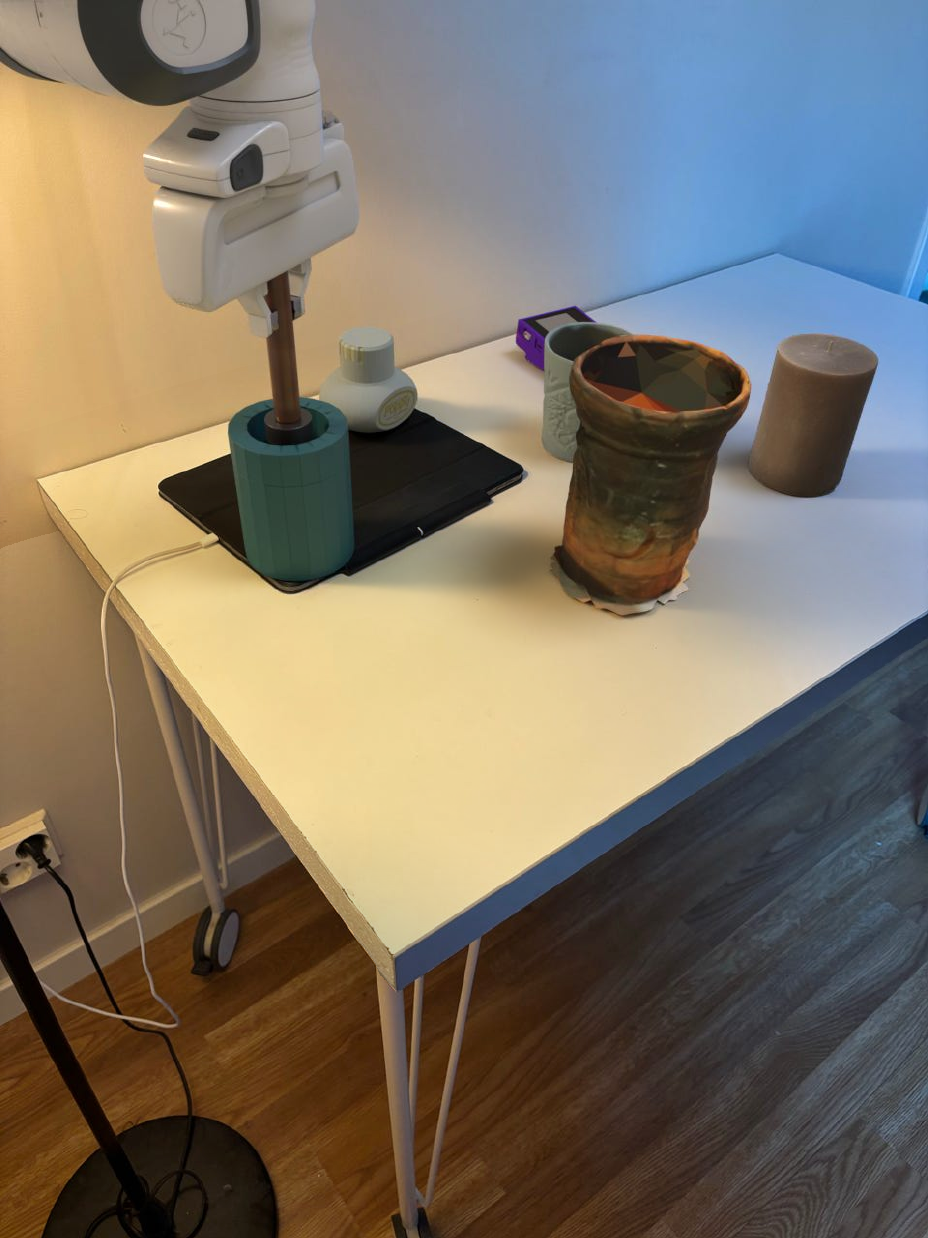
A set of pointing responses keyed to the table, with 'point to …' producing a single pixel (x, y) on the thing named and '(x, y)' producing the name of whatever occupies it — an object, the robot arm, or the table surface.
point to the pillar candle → (811, 413)
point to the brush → (284, 373)
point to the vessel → (643, 466)
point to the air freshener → (369, 382)
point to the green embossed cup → (566, 382)
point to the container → (294, 494)
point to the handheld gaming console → (544, 331)
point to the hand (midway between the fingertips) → (278, 325)
